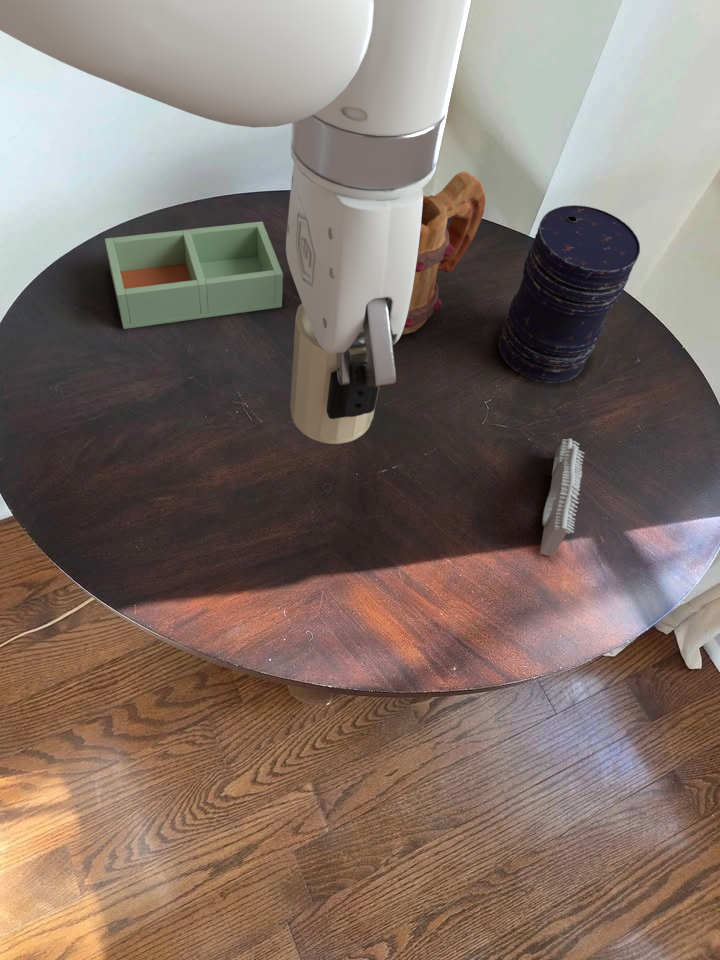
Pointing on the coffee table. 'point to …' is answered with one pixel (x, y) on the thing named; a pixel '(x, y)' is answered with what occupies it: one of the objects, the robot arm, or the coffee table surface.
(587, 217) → the navy cylinder
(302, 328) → the paper cup
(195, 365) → the coffee table surface
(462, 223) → the mug
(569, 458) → the lattice window wall
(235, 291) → the cup holder
